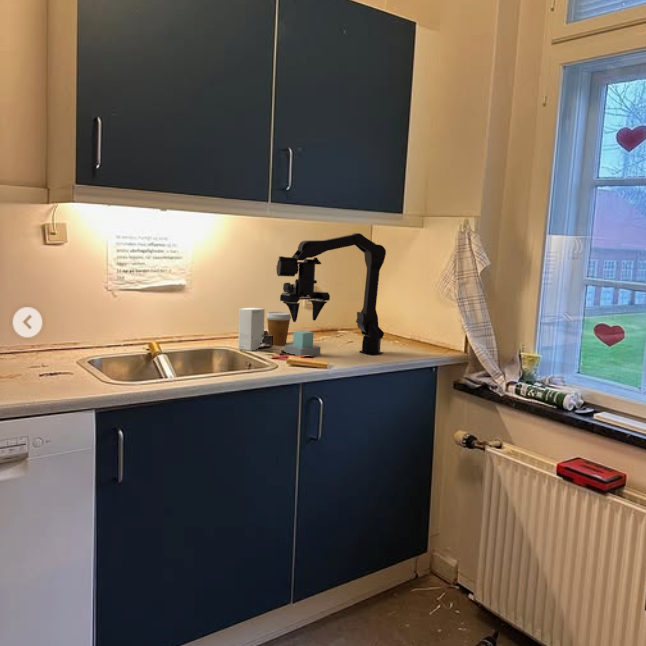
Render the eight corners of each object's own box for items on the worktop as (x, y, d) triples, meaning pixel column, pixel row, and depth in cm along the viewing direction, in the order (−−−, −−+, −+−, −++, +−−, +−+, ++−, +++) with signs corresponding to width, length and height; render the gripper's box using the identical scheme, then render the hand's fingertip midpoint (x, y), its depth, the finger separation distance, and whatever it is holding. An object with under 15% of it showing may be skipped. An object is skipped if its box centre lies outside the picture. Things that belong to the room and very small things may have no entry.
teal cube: (303, 344, 226) (304, 330, 225) (312, 346, 222) (313, 332, 221) (292, 345, 222) (293, 331, 222) (302, 347, 219) (302, 333, 218)
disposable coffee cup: (292, 343, 243) (293, 312, 241) (286, 347, 234) (288, 315, 232) (268, 341, 245) (269, 310, 243) (262, 345, 235) (263, 313, 234)
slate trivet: (303, 350, 229) (303, 342, 229) (320, 355, 223) (320, 346, 222) (284, 353, 223) (284, 344, 223) (300, 357, 216) (301, 349, 216)
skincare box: (250, 351, 223) (252, 310, 221) (237, 349, 226) (238, 308, 224) (264, 348, 230) (265, 308, 228) (250, 346, 233) (252, 306, 231)
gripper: (311, 274, 231) (309, 316, 233) (271, 275, 218) (269, 319, 221) (331, 277, 223) (329, 320, 225) (291, 278, 210) (289, 324, 213)
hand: (304, 321), depth 221 cm, fingers open, 9 cm apart
